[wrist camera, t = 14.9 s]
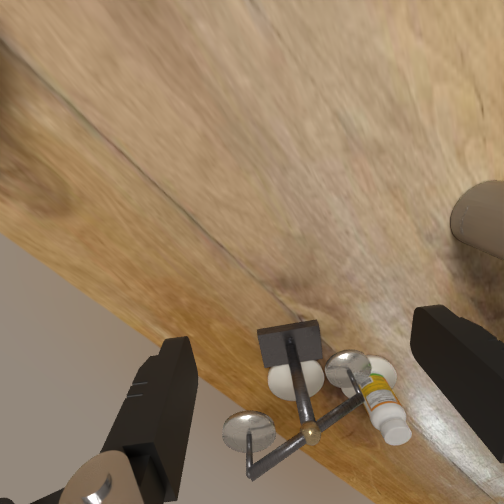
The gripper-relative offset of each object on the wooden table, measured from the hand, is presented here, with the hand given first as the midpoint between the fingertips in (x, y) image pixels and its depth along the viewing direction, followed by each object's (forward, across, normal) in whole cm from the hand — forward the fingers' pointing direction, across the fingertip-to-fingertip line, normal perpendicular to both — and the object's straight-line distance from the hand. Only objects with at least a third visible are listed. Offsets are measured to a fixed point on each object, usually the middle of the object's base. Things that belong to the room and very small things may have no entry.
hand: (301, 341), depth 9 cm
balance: (+28, -3, +25) cm, 38 cm away
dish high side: (+28, -3, +33) cm, 43 cm away
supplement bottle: (+27, -16, +35) cm, 47 cm away
